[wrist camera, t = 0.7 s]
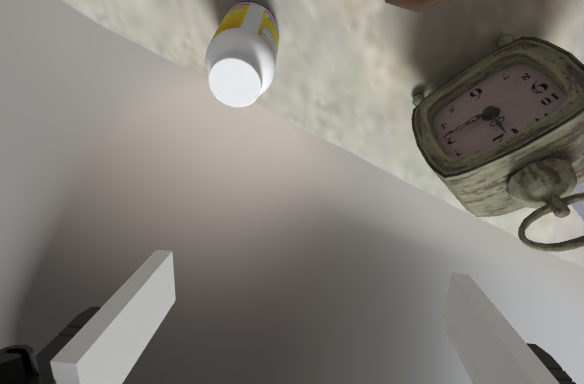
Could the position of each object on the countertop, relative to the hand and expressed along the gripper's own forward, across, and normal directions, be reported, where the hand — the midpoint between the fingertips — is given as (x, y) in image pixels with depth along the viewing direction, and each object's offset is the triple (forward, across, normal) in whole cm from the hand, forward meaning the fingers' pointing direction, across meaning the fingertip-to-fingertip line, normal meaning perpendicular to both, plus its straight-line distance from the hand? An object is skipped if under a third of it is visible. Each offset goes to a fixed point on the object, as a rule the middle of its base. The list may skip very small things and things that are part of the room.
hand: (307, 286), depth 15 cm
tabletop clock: (+32, +19, +10) cm, 38 cm away
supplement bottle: (+28, -8, +15) cm, 33 cm away
